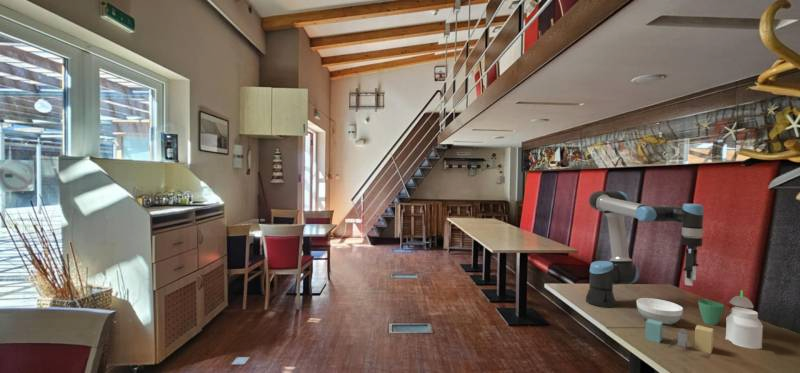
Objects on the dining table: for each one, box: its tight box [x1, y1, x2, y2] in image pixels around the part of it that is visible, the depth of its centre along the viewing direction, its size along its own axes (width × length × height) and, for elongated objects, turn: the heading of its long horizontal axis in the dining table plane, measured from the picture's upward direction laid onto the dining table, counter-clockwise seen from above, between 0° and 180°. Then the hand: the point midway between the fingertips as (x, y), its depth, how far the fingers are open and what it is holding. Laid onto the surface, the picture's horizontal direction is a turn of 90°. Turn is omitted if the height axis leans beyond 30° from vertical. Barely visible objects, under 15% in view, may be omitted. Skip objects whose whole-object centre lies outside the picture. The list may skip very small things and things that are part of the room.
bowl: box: [636, 297, 684, 326], centre depth 181 cm, size 19×19×9 cm
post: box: [677, 328, 688, 349], centre depth 151 cm, size 3×3×8 cm
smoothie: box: [728, 289, 754, 315], centre depth 169 cm, size 8×8×20 cm
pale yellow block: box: [694, 324, 714, 354], centre depth 150 cm, size 5×5×9 cm
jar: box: [725, 307, 764, 350], centre depth 156 cm, size 12×10×15 cm
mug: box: [697, 298, 725, 326], centre depth 182 cm, size 15×10×10 cm
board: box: [668, 337, 714, 359], centre depth 151 cm, size 13×12×1 cm
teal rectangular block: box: [644, 319, 664, 344], centre depth 158 cm, size 5×5×9 cm
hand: (690, 282), depth 169 cm, fingers open, 13 cm apart
